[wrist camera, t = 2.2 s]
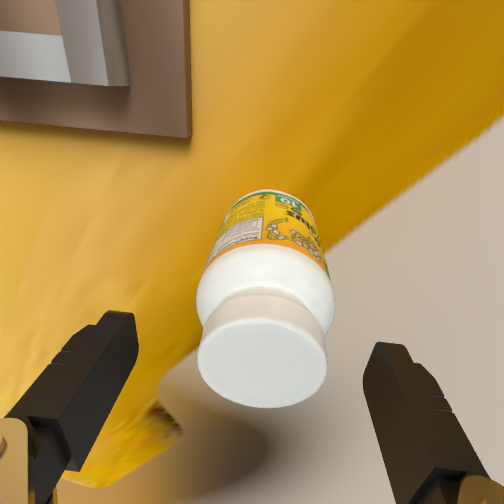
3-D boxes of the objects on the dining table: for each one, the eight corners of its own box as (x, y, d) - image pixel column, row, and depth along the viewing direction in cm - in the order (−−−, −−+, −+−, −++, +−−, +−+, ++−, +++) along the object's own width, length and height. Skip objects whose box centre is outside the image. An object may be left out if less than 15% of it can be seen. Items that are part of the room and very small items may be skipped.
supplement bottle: (206, 213, 17) (135, 337, 9) (290, 168, 16) (303, 267, 7) (252, 282, 19) (231, 435, 11) (331, 249, 18) (377, 399, 9)
